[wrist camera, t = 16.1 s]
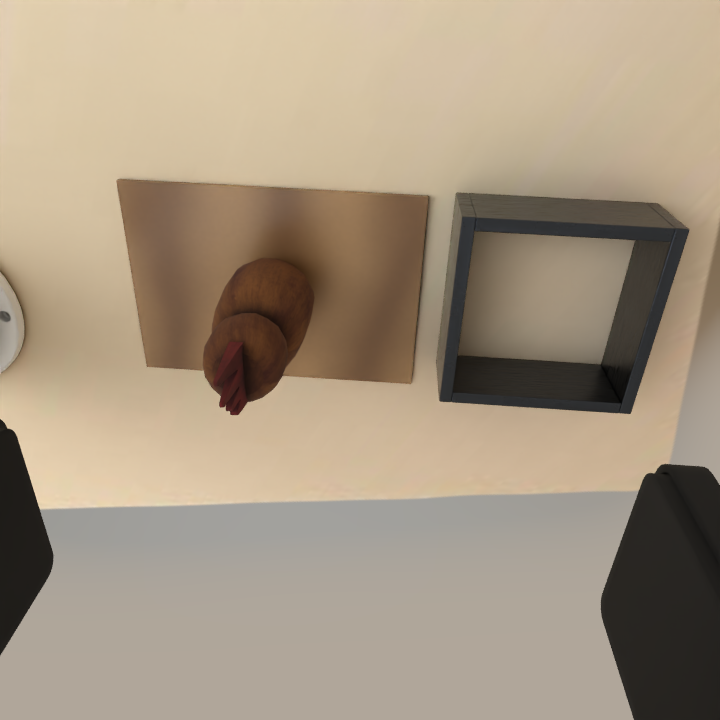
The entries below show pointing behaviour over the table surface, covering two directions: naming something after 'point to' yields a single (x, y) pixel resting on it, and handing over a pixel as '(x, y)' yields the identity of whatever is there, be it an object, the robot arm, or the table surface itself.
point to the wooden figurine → (256, 330)
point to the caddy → (630, 325)
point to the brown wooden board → (290, 244)
